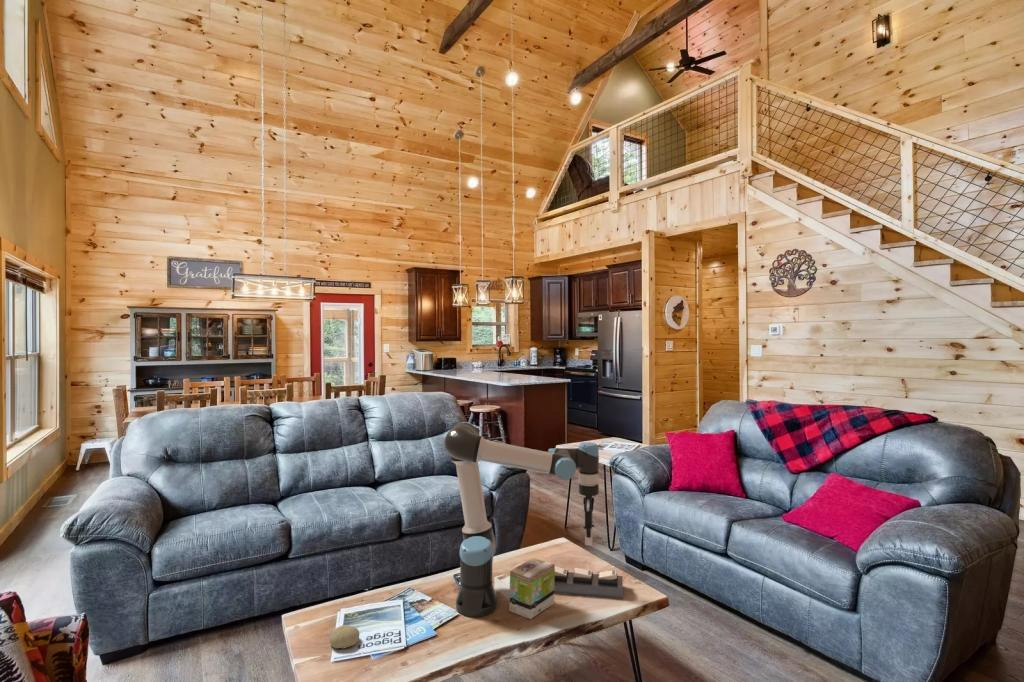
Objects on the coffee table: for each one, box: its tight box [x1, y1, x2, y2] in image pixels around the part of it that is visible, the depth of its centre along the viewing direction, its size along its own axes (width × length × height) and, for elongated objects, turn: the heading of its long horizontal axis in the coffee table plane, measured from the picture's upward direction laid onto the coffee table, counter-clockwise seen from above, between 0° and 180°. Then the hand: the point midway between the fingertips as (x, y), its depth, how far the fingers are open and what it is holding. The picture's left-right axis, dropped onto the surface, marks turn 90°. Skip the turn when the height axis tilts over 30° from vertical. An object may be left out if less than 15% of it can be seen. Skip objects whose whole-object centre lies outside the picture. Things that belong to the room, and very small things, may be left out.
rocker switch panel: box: [554, 569, 624, 599], centre depth 209 cm, size 30×10×6 cm, turn 79°
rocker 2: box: [573, 567, 593, 578], centre depth 209 cm, size 6×4×2 cm
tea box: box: [508, 557, 556, 620], centre depth 196 cm, size 15×10×15 cm, turn 143°
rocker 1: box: [555, 565, 568, 576], centre depth 211 cm, size 6×4×2 cm
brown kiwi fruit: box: [329, 624, 360, 649], centre depth 174 cm, size 9×8×8 cm
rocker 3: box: [598, 569, 618, 580], centre depth 207 cm, size 6×4×2 cm
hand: (588, 544), depth 209 cm, fingers closed
